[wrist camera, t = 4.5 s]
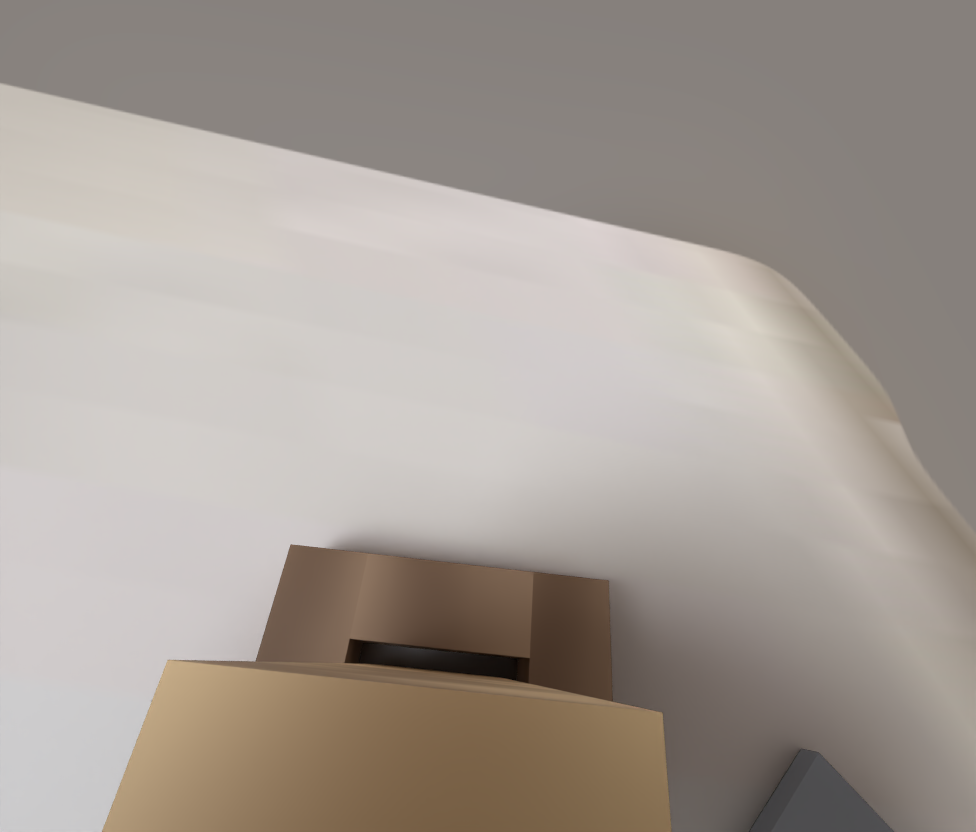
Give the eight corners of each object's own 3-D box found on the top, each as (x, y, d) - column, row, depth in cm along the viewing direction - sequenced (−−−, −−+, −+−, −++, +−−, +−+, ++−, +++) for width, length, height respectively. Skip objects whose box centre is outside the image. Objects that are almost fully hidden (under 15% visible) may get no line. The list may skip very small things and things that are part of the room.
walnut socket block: (587, 591, 17) (608, 580, 14) (591, 1000, 12) (625, 1078, 10) (311, 560, 16) (290, 544, 14) (199, 967, 12) (142, 1038, 9)
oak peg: (498, 676, 15) (661, 712, 4) (486, 836, 13) (753, 1910, 2) (377, 663, 15) (167, 660, 4) (348, 822, 13) (-299, 1875, 2)
